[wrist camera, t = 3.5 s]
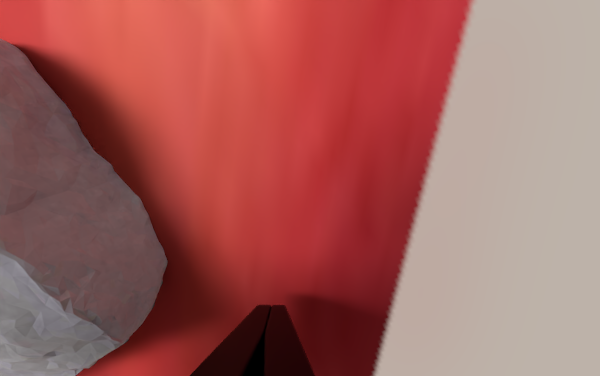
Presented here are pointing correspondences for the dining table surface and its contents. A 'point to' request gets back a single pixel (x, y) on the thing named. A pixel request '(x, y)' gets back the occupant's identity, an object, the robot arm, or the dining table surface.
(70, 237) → the stone block
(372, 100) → the dining table surface
